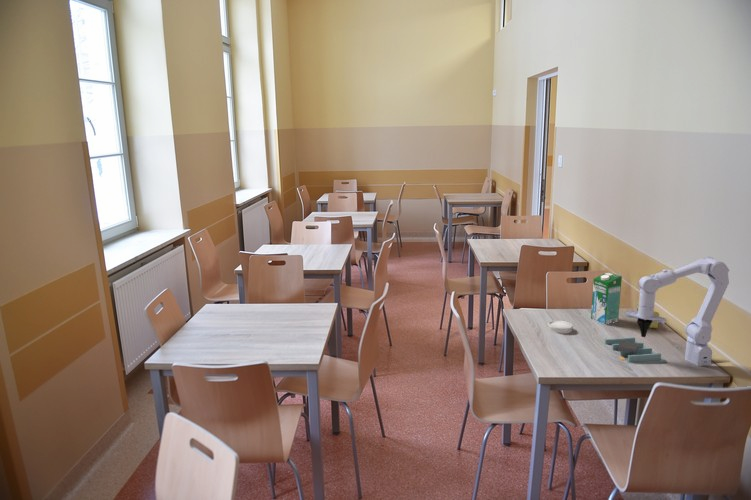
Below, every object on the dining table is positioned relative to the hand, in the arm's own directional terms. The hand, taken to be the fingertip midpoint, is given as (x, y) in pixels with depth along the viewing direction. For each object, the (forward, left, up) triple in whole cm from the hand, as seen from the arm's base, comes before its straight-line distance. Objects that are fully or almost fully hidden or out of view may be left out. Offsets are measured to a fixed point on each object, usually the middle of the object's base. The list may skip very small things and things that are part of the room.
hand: (643, 336), depth 220 cm
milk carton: (+42, -7, -10) cm, 44 cm away
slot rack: (+5, +1, -10) cm, 11 cm away
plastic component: (+40, -27, -10) cm, 49 cm away
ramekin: (+31, +21, -10) cm, 39 cm away
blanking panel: (0, +2, -6) cm, 6 cm away
